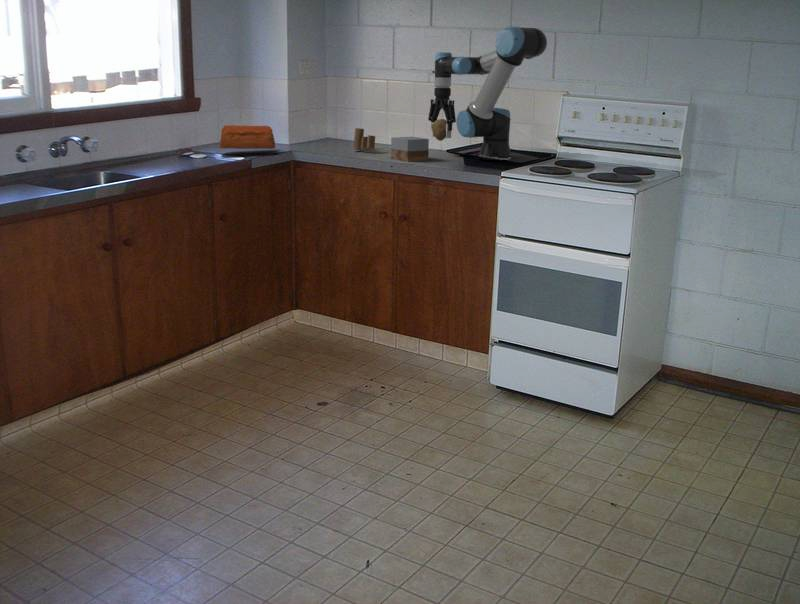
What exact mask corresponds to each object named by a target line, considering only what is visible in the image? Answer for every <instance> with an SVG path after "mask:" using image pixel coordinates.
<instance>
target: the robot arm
mask: <svg viewBox="0 0 800 604" xmlns="http://www.w3.org/2000/svg"><path fill="white" fill-rule="evenodd" d="M495 43H496V44H495V50H493V51H490V52H488V53H485V54H483V55H480V56H475V57H474V56H473V57H471V56H470V57H469V56H452V55H453V54H452V52H439V51H438V52H436V53H435V57H434V95H433V96H434V97H435V98H432V99H431V98H430V106H429V107H430V108H429V112H428V119H427V121H430V122H431V129H432V124H433V123H434V122H435V121H436V120H438V118H439V116H440V115H439V114H440V113H441V110H443V113H444V116H445V120H446V121H447V124H446V138H445V139H452V131H453V124H454V123H456V129H457V132H458V134H460V135H461V136H462V137H463V138H468V139H472V138H482V144H481V147H480V151H479V153H478V155H479V154H481V155H485V156H489V157H498V158H508V157H512V158H513V154H512V152H511V147H510V129H511V112H510V111H511V110H509V109H507V108H500V107H495V106H496V104H497V102H498V101H499V98H500V96H501V95H502V93H503V91H504V89H505V87H506V85H507V84H508V82H509V79H510V78H511V76H512V75H513V72H514V70H515V69H516V67H520V66H521V65H522V64H523V62H524V59H525V60H531V59H534V58H537V57H539V56H541V55H542V54H543V53H544V52H545V50H546V49H547V46H548V39H547V36H546V34H545V33H544V32H543V30H541V29H539V28H536V27H520V26H508V27H504V28H503V29H502V30H501V31H500V32H499V33H498V34H497V37H496V40H495ZM452 75H462V76H463V75H481V76H483V75H487V76H486V79H485V80H484V82H483V84H482V86H481V89H480V90H479V92H478V94H477V96H476V98H475V100H474V101H470V103H469V104H468V105H467V108H466V110H461V111H459V112H458V113H457V116H456V112H455V111H456V109H455V100H454V99H450V97H451V95H452V94H451V93H452V92H451V91H452V89H451V86H452ZM431 137H432V138H435V136H434V134H433V131H432V130H431Z"/></svg>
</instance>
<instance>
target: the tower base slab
mask: <svg viewBox="0 0 800 604" xmlns="http://www.w3.org/2000/svg"><path fill="white" fill-rule="evenodd" d="M390 149H391V148H390ZM390 151H391V152H390V155H391V156H390V159H391V160H395V161H401V162H407V163H409V162H410V163H411V162H424V161H425V162H426V161H429V157H430V156H429V154H430V152H429V151H430V150H429V149H428V150H423V151H402V150H396V149H391V150H390Z"/></svg>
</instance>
